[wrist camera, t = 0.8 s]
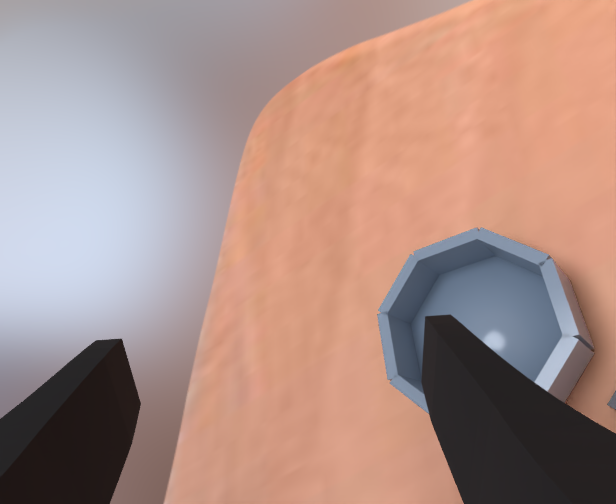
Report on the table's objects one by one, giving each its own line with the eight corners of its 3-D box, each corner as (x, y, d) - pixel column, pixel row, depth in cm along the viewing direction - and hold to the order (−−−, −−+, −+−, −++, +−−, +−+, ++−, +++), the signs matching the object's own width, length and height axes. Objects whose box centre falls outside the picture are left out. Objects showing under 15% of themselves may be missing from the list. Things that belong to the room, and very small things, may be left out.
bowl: (625, 301, 22) (613, 281, 20) (524, 468, 23) (500, 469, 20) (461, 231, 28) (436, 209, 26) (384, 363, 29) (352, 354, 26)
